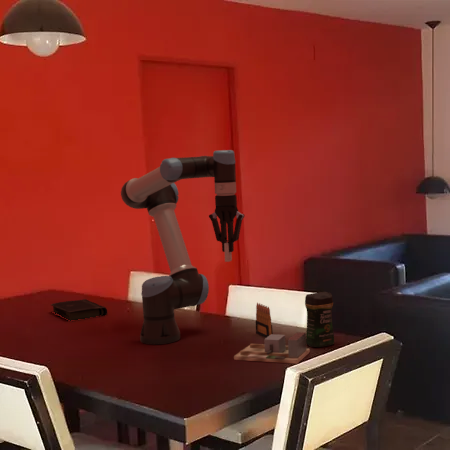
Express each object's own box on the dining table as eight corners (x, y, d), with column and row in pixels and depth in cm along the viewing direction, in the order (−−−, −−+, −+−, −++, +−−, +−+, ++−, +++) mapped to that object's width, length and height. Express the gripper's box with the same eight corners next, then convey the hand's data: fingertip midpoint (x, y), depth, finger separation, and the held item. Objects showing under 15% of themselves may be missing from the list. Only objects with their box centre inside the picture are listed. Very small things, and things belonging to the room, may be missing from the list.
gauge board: (233, 359, 246) (233, 352, 246) (249, 348, 259) (249, 341, 259) (297, 364, 238) (296, 356, 237) (309, 352, 251) (309, 345, 250)
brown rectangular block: (288, 357, 241) (287, 339, 240) (297, 349, 250) (297, 332, 249) (297, 358, 240) (296, 340, 239) (306, 350, 249) (305, 332, 248)
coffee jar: (316, 349, 254) (313, 296, 252) (302, 344, 261) (300, 293, 259) (338, 344, 258) (336, 292, 256) (325, 340, 265) (323, 289, 263)
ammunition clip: (273, 338, 272) (271, 306, 270) (268, 339, 271) (267, 307, 270) (260, 332, 281) (258, 301, 280) (255, 333, 281) (254, 302, 280)
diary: (87, 308, 349) (87, 298, 349) (107, 317, 328) (107, 306, 327) (49, 314, 340) (48, 303, 339) (67, 323, 318) (66, 311, 318)
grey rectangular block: (260, 357, 242) (259, 342, 242) (271, 348, 252) (271, 334, 252) (275, 358, 240) (274, 343, 240) (285, 349, 250) (285, 334, 250)
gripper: (204, 195, 257) (207, 262, 260) (238, 195, 252) (241, 263, 255) (213, 193, 264) (215, 258, 267) (246, 193, 259) (249, 259, 262)
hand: (228, 261), depth 261 cm, fingers closed
